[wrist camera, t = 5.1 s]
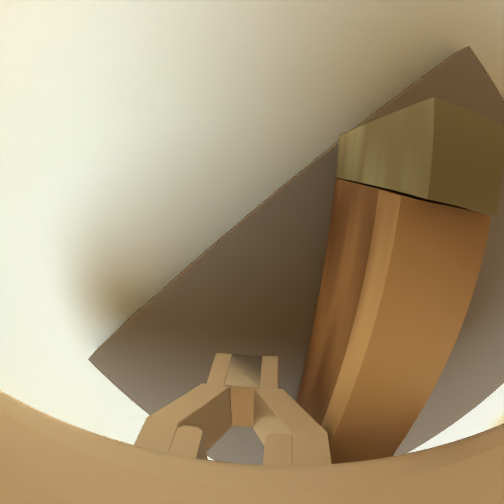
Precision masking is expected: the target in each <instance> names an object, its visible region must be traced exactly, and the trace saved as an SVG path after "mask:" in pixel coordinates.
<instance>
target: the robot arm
mask: <svg viewBox="0 0 504 504" xmlns="http://www.w3.org/2000/svg"><path fill="white" fill-rule="evenodd" d="M278 378H279V358H278V356H252V355H240V354H227V353H217V354H216V355H215V358H214V361H213V364H212V367H211V371H210V374H209V377H208V380H207V383H206V384H204V383H202V384H200V385H199V386H197V387H196V388H194V389H192V390H191V391H189V392H188V393H186V394H184V395H183V396H181V397H180V398H178V399H176V400H175V401H173V402H172V403H170V404H168V405H167V406H165V407H163V408H162V409H160V410H158V411H157V412H155V413H153V414H152V415H150V416H148V417H147V419H146V421H145V423H144V425H143V427H142V429H141V431H140V433H139V435H138V437H137V440H136V442H135V444H134V445H132V444H128V443H124V442H121V441H117V440H114V439H111V438H108V437H105V436H102V435H99V434H96V433H93V432H90V431H87V430H84V429H82V428H79V427H76V426H74V425H71V424H69V423H66V422H64V421H61V420H59V419H57V418H54V417H52V416H50V415H47V414H45V413H43V412H41V411H39V410H37V409H35V408H32V407H30V406H28V405H26V404H24V403H23V402H21V401H19V400H17V399H15V398H13V397H11V396H9V395H8V394H6V393H4V392H2V391H1V390H0V504H504V424H501V425H499V426H496V427H494V428H491V429H489V430H486V431H484V432H481V433H478V434H475V435H473V436H470V437H467V438H464V439H461V440H457V441H454V442H451V443H448V444H444V445H440V446H437V447H433V448H429V449H425V450H421V451H417V452H412V453H407V454H402V455H397V456H392V457H386V458H380V459H373V460H366V461H358V462H348V463H337V464H331V456H330V448H329V441H328V434H327V432H326V431H325V430H324V429H323V428H322V427H321V426H320V425H319V424H318V423H317V422H316V421H315V420H314V419H313V418H312V417H311V416H310V415H309V414H308V413H307V412H306V411H305V410H304V409H303V408H302V407H301V406H299V405H298V404H297V403H296V402H295V400H294V399H293V398H292V397H291V396H290V395H289V394H288V393H287V392H286V391H285V390H284V389H278ZM232 426H244V427H253V429H254V431H255V432H256V434H257V435H258V437H259V438H260V440H261V441H262V443H263V445H264V457H263V465H256V464H241V463H230V462H221V461H212V460H208V459H207V453H206V452H207V451H208V450H209V449H210V448H211V447H212V446H213V445H214V444H215V443H216V442H217V441H218V440H219V439H220V438H221V437H222V436H223V435H224V434H225V433H226V432H227V431H228V430H229V429H230V428H231V427H232Z"/></svg>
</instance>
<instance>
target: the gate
mask: <svg viewBox="0 0 504 504" xmlns="http://www.w3.org/2000/svg"><path fill="white" fill-rule="evenodd" d="M503 143H504V126H502V125H500V124H498V123H496V122H494V121H492V120H490V119H488V118H486V117H483V116H481V115H479V114H477V113H474V112H472V111H470V110H467V109H465V108H462V107H460V106H457V105H455V104H452V103H450V102H447V101H444V100H441V99H439V98H436V97H433V98H430V99H427V100H425V101H422V102H419V103H417V104H414V105H411V106H409V107H406V108H404V109H401V110H399V111H396V112H394V113H391V114H389V115H386V116H384V117H381V118H379V119H376V120H374V121H372V122H369V123H367V124H365V125H362V126H360V127H358V128H355V129H353V130H351V131H348V132H346V133H344V134H342V135H339V145H338V157H337V168H336V177H337V178H342V179H347V180H342V179H335V187H334V196H333V204H332V212H331V220H330V228H329V235H328V242H327V249H326V255H325V262H324V268H323V274H322V280H321V286H320V292H319V297H318V303H317V308H316V313H315V319H314V324H313V329H312V334H311V338H310V343H309V348H308V353H307V357H306V362H305V366H304V370H303V375H302V379H301V383H300V387H299V391H298V396H297V400H296V403H297V404H298V405H299V406H301V407H302V408H303V409H304V410H305V411H306V412H307V413H308V414H309V415H310V416H311V417H312V418H313V419H314V420H315V421H316V422H317V423H318V424H319V425H320V426H321V427H322V428H323V429H324V430H325V431H326V432H327V434H328V441H329V448H330V456H331V464H337V463H348V462H358V461H366V460H373V459H380V458H386V457H392V456H393V455H394V453H395V452H396V450H397V449H398V447H399V446H400V444H401V443H402V441H403V440H404V438H405V437H406V435H407V434H408V432H409V431H410V429H411V427H412V426H413V424H414V423H415V421H416V419H417V418H418V416H419V414H420V413H421V411H422V409H423V407H424V406H425V404H426V402H427V400H428V398H429V397H430V395H431V393H432V391H433V389H434V387H435V385H436V383H437V381H438V379H439V377H440V375H441V373H442V371H443V369H444V367H445V365H446V362H447V360H448V358H449V356H450V354H451V351H452V349H453V347H454V344H455V342H456V339H457V337H458V334H459V332H460V329H461V327H462V324H463V321H464V319H465V316H466V313H467V310H468V307H469V304H470V301H471V298H472V295H473V292H474V289H475V285H476V282H477V278H478V275H479V271H480V267H481V264H482V260H483V255H484V251H485V247H486V242H487V238H488V233H489V227H490V222H491V216H489V215H486V214H483V213H480V212H477V211H481V212H485V213H489V214H493V215H497V210H498V203H499V196H500V187H501V177H502V165H503ZM349 180H352V181H349ZM464 207H465V208H464ZM468 208H469V209H468ZM471 209H473V210H471ZM474 210H477V211H474Z"/></svg>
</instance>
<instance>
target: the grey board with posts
mask: <svg viewBox="0 0 504 504" xmlns="http://www.w3.org/2000/svg"><path fill="white" fill-rule="evenodd" d="M433 97H436V98H439V99H441V100H444V101H447V102H450V103H452V104H455V105H457V106H460V107H462V108H465V109H467V110H470V111H472V112H474V113H477V114H479V115H481V116H483V117H486V118H488V119H490V120H492V121H494V122H496V123H498V124H500V125H502V126H504V101H503V99H502V97H501V95H500V94H499V92H498V90H497V88H496V87H495V85H494V83H493V82H492V80H491V78H490V77H489V75H488V74H487V72H486V70H485V69H484V67H483V66H482V64H481V63H480V61H479V60H478V58H477V57H476V56H475V54H474V53H473V51H472V50H471V49H470V47H469V46H468V47H466V48H464V49H462V50H460V51H458V52H457V53H455V54H454V55H452V56H451V57H450V58H448V59H447V60H445V61H444V62H443V63H441V64H440V65H438V66H437V67H436V68H434V69H433V70H431V71H430V72H429V73H427V74H426V75H425V76H423V77H422V78H420V79H419V80H418V81H416V82H415V83H414V84H412V85H411V86H410V87H408V88H407V89H406V90H404V91H403V92H402V93H400V94H399V95H398V96H396V97H395V98H394V99H392V100H391V101H390V102H388V103H387V104H386V105H384V106H383V107H382V108H380V109H379V110H378V111H376V112H375V113H374V114H372V115H371V116H370V117H369V118H367V119H366V120H365V121H363V122H362V123H361V124H360V125H358V126H357V127H356V128H358V127H360V126H362V125H365V124H367V123H369V122H372V121H374V120H376V119H379V118H381V117H384V116H386V115H389V114H391V113H394V112H396V111H399V110H401V109H404V108H406V107H409V106H411V105H414V104H417V103H419V102H422V101H425V100H427V99H430V98H433ZM354 129H355V128H354ZM338 145H339V141H338V142H337V143H335V144H334V145H333V146H332V147H330V148H329V149H328V150H326V151H325V152H324V153H323V154H321V155H320V156H319V157H318V158H316V159H315V160H314V161H313V162H311V163H310V164H309V165H308V166H307V167H305V168H304V169H303V170H302V171H300V172H299V173H298V174H297V175H295V176H294V177H293V178H292V179H291V180H289V181H288V182H287V183H286V184H284V185H283V186H282V187H281V188H280V189H278V190H277V191H276V192H275V193H274V194H272V195H271V196H270V197H269V198H268V199H266V200H265V201H264V202H263V203H262V204H260V205H259V206H258V207H257V208H256V209H254V210H253V211H252V212H251V213H250V214H248V215H247V216H246V217H245V218H244V219H242V220H241V221H240V222H239V223H238V224H237V225H235V226H234V227H233V228H232V229H231V230H230V231H228V232H227V233H226V234H225V235H224V236H223V237H221V238H220V239H219V240H218V241H217V242H216V243H214V244H213V245H212V246H211V247H210V248H209V249H207V250H206V251H205V252H204V253H203V254H202V255H201V256H199V257H198V258H197V259H196V260H195V261H194V262H193V263H191V264H190V265H189V266H188V267H187V268H186V269H185V270H183V271H182V272H181V273H180V274H179V275H178V276H177V277H176V278H174V279H173V280H172V281H171V282H170V283H169V284H168V285H167V286H165V287H164V288H163V289H162V290H161V291H160V292H159V293H158V294H157V295H155V296H154V297H153V298H152V299H151V300H150V301H149V302H148V303H147V304H145V305H144V306H143V307H142V308H141V309H140V310H139V311H138V312H137V313H136V314H134V315H133V316H132V317H131V318H130V319H129V320H128V321H127V322H126V323H125V324H124V325H123V326H121V327H120V328H119V329H118V330H117V331H116V332H115V333H114V334H113V335H112V336H111V337H110V338H109V339H107V340H106V341H105V342H104V343H103V344H102V345H101V346H100V347H99V348H98V349H97V350H96V351H95V352H94V353H93V354H92V356H91V357H90V358H89V359H88V360H89V361H90V362H91V363H92V364H93V365H94V366H95V367H96V368H97V369H98V370H99V371H100V372H101V373H102V374H103V375H105V376H106V377H107V378H108V379H109V380H110V381H111V382H112V383H113V384H114V385H115V386H116V387H117V388H119V389H120V390H121V391H122V392H123V393H124V394H125V395H126V396H128V397H129V398H130V399H131V400H132V401H133V402H135V403H136V404H137V405H138V406H139V407H141V408H142V409H143V410H144V411H145V412H147V413H148V414H149V415H152V414H153V413H155V412H157V411H158V410H160V409H162V408H163V407H165V406H167V405H168V404H170V403H172V402H173V401H175V400H176V399H178V398H180V397H181V396H183V395H184V394H186V393H188V392H189V391H191V390H192V389H194V388H196V387H197V386H199V385H200V384H202V383H204V384H206V383H207V380H208V377H209V374H210V371H211V367H212V364H213V361H214V358H215V355H216V354H217V353H227V354H240V355H252V356H278V358H279V378H278V389H284V390H285V391H286V392H287V393H288V394H289V395H290V396H291V397H292V398H293V399H294V400H295V402H296V400H297V396H298V391H299V387H300V383H301V379H302V375H303V370H304V366H305V362H306V357H307V353H308V348H309V343H310V338H311V334H312V329H313V324H314V319H315V313H316V308H317V303H318V297H319V292H320V286H321V280H322V274H323V268H324V262H325V255H326V249H327V242H328V235H329V228H330V220H331V212H332V204H333V196H334V187H335V179H342V178H337V177H336V168H337V157H338ZM342 180H347V179H342ZM349 181H352V180H349ZM464 208H465V207H464ZM468 209H469V208H468ZM471 210H473V209H471ZM474 211H477V210H474ZM477 212H480V213H483V214H486V215H489V216H491V222H490V227H489V233H488V238H487V242H486V247H485V251H484V255H483V260H482V264H481V267H480V271H479V275H478V278H477V282H476V285H475V289H474V292H473V295H472V298H471V301H470V304H469V307H468V310H467V313H466V316H465V319H464V321H463V324H462V327H461V329H460V332H459V334H458V337H457V339H456V342H455V344H454V347H453V349H452V351H451V354H450V356H449V358H448V360H447V362H446V365H445V367H444V369H443V371H442V373H441V375H440V377H439V379H438V381H437V383H436V385H435V387H434V389H433V391H432V393H431V395H430V397H429V398H428V400H427V402H426V404H425V406H424V407H423V409H422V411H421V413H420V414H419V416H418V418H417V419H416V421H415V423H414V424H413V426H412V427H411V429H410V431H409V432H408V434H407V435H406V437H405V438H404V440H403V441H402V443H401V444H400V446H399V447H398V449H397V450H396V452H395V453H394V455H393V456H397V455H402V454H406V453H408V452H410V451H411V450H413V449H415V448H416V447H418V446H420V445H421V444H423V443H425V442H426V441H428V440H430V439H431V438H433V437H434V436H436V435H437V434H439V433H440V432H442V431H443V430H445V429H446V428H448V427H449V426H451V425H452V424H453V423H455V422H456V421H458V420H459V419H460V418H462V417H463V416H464V415H466V414H467V413H468V412H470V411H471V410H472V409H473V408H475V407H476V406H477V405H478V404H480V403H481V402H482V401H483V400H485V399H486V398H487V397H488V396H489V395H490V394H492V393H493V392H494V391H495V390H496V389H497V388H498V387H499V386H501V385H502V384H503V383H504V143H503V165H502V177H501V187H500V196H499V203H498V210H497V215H493V214H489V213H485V212H481V211H477ZM206 453H207V456H208V457H210V458H212V459H213V460H215V461H221V462H230V463H241V464H256V465H263V457H264V445H263V443H262V441H261V440H260V438H259V437H258V435H257V434H256V432H255V431H254V429H253V427H244V426H232V427H231V428H230V429H229V430H228V431H227V432H226V433H225V434H224V435H223V436H222V437H221V438H220V439H219V440H218V441H217V442H216V443H215V444H214V445H213V446H212V447H211V448H210V449H209V450H208V451H207V452H206Z"/></svg>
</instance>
